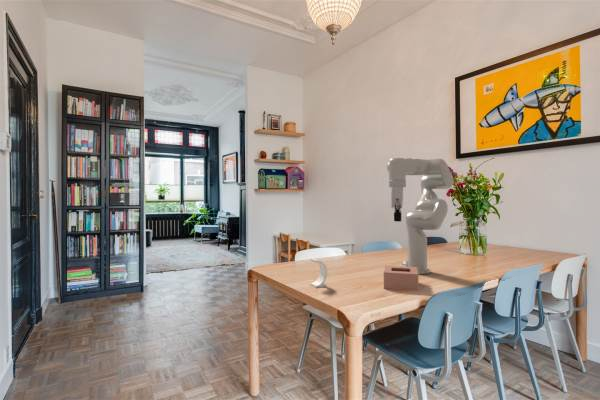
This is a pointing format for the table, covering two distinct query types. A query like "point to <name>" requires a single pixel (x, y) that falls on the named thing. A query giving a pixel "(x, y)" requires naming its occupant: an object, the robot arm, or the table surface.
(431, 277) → the table surface
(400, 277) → the coin box
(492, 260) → the table surface
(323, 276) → the headphone stand
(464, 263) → the table surface
